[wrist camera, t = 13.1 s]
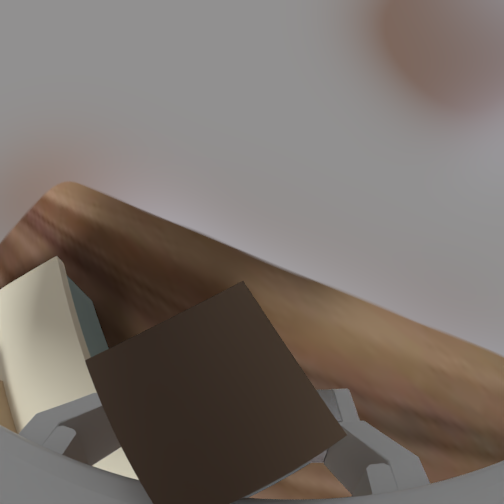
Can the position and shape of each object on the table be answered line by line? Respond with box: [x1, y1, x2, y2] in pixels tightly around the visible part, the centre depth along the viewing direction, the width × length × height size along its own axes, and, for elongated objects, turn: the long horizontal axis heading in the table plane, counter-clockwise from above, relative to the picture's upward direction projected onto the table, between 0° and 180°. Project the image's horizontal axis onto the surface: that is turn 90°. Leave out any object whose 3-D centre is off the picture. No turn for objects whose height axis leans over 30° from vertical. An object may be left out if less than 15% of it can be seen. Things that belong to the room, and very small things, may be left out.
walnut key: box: [85, 281, 347, 504], centre depth 9 cm, size 3×3×12 cm
